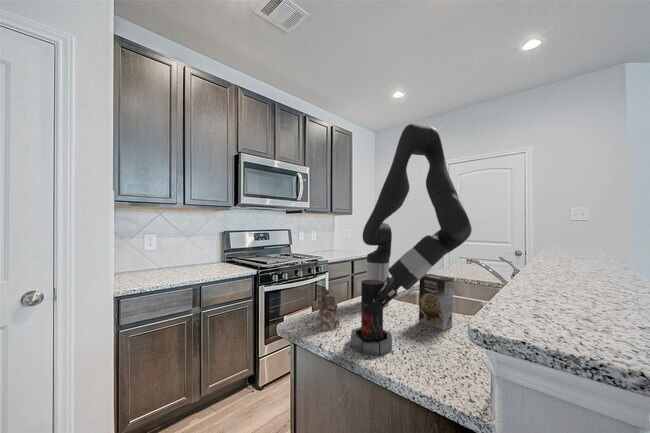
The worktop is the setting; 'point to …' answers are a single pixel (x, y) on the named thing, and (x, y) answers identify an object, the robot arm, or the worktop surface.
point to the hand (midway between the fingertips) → (365, 309)
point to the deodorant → (374, 322)
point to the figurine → (328, 312)
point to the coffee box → (436, 301)
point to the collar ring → (371, 343)
